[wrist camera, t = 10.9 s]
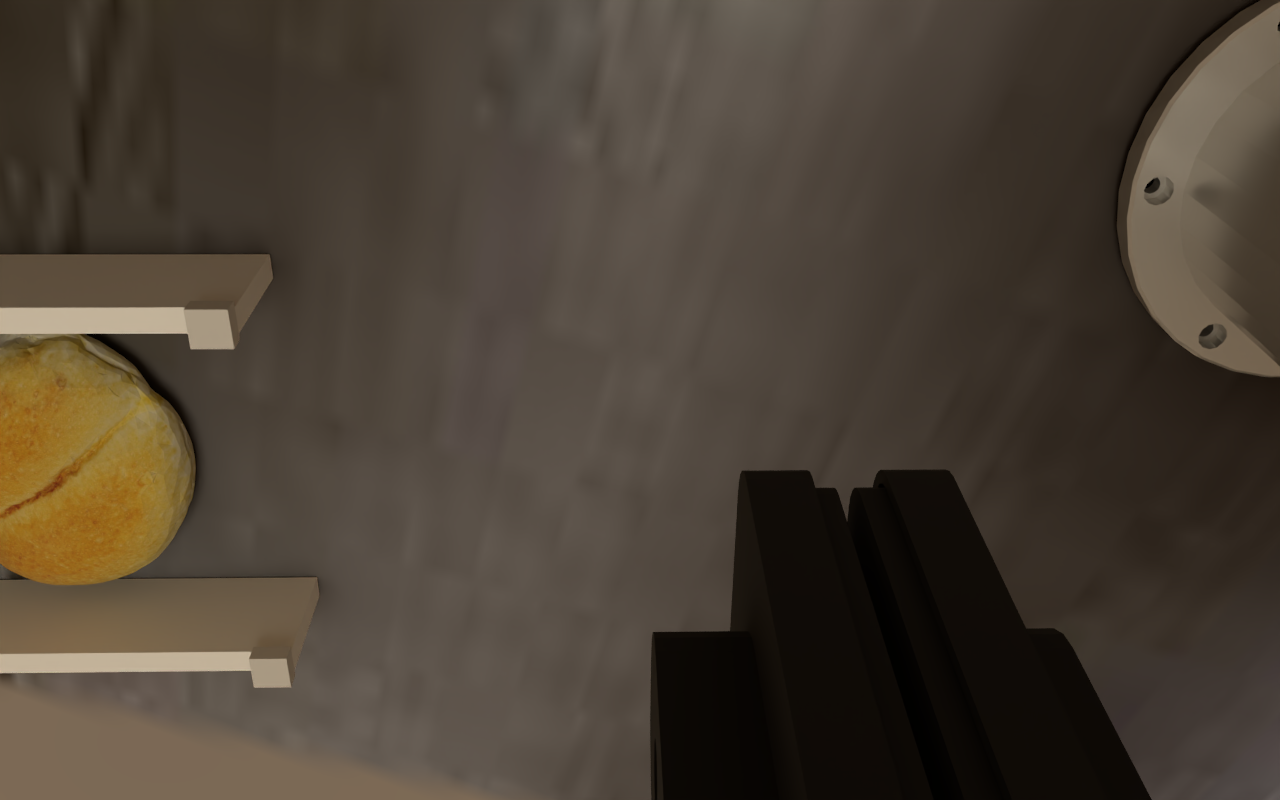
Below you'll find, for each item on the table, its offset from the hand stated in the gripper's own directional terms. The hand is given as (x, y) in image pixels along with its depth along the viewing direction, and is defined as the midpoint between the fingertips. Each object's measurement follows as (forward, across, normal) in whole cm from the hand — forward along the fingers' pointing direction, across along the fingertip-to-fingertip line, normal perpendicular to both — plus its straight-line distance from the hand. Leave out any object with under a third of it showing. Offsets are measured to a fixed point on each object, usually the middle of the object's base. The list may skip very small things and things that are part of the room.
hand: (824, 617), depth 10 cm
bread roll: (+28, +20, +14) cm, 37 cm away
